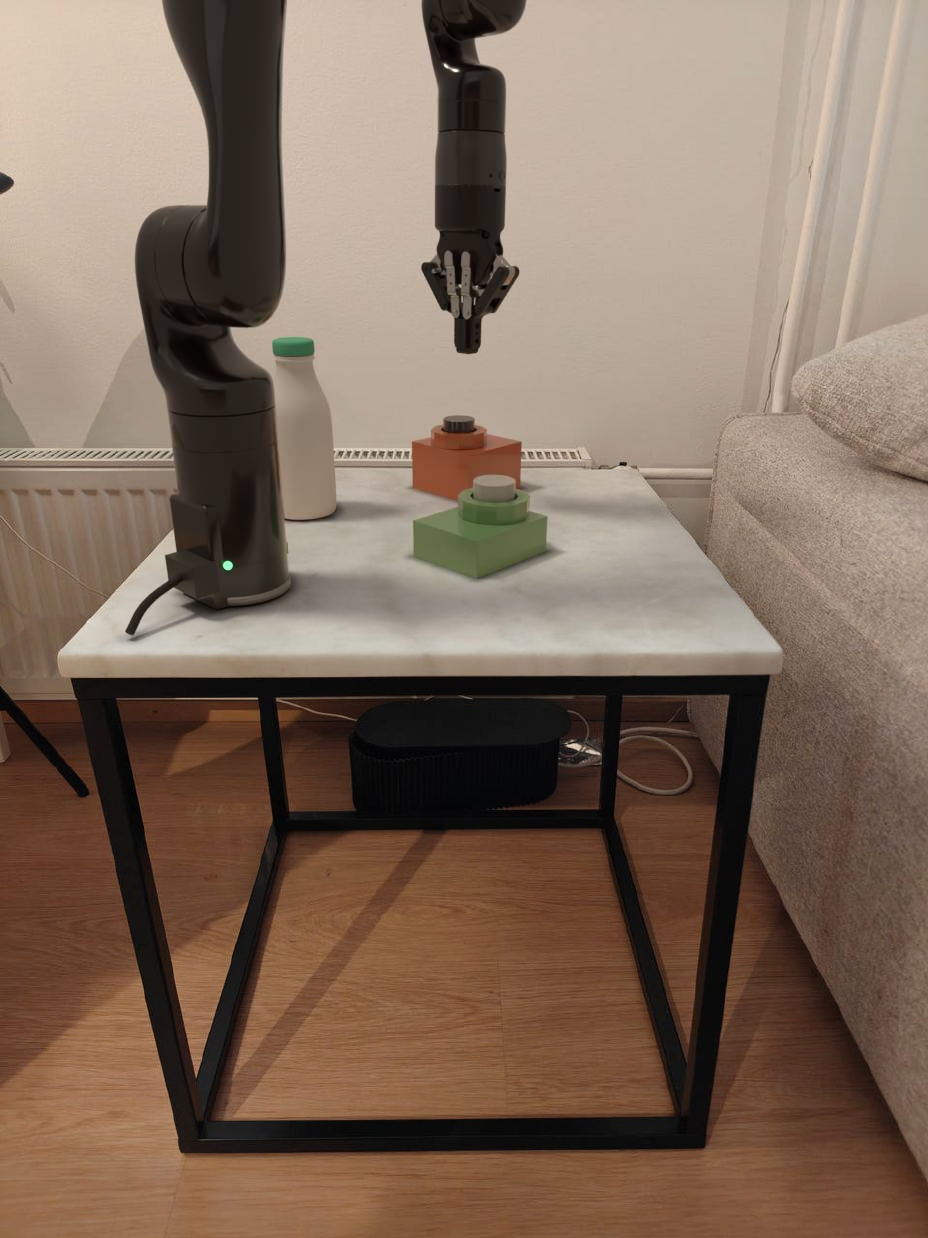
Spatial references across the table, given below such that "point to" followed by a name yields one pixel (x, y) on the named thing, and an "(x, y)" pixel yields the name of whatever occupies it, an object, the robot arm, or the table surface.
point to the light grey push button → (494, 488)
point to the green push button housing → (481, 535)
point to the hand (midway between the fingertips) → (467, 352)
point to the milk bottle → (303, 432)
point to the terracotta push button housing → (462, 460)
